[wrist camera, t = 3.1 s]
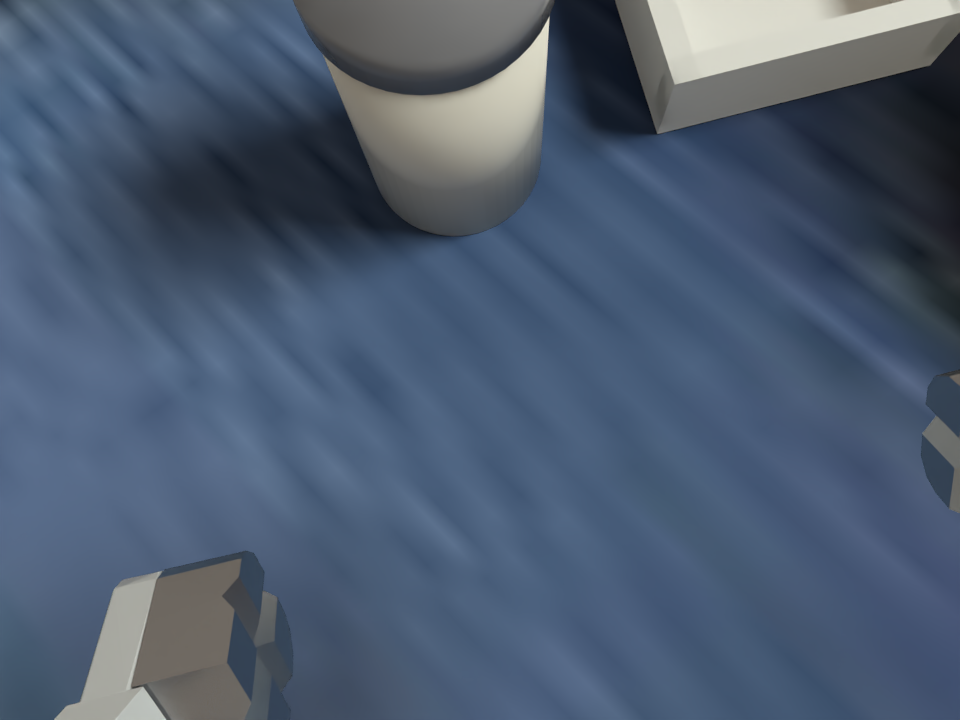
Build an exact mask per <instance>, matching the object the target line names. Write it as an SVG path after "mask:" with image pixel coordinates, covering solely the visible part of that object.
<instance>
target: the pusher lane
mask: <svg viewBox="0 0 960 720" xmlns="http://www.w3.org/2000/svg"><path fill="white" fill-rule="evenodd" d="M615 2H616V6H617V9H618V12H619V15H620V18H621V21H622V24H623V28H624V31H625V34H626V37H627V40H628V43H629V47H630V50H631V53H632V56H633V59H634V62H635V65H636V69H637V72H638V75H639V78H640V81H641V84H642V87H643V91H644V94H645V97H646V100H647V103H648V106H649V110H650V113H651V116H652V119H653V122H654V125H655V128H656V132H657V134H660V133H664V132H668V131H672V130H676V129H680V128H684V127H688V126H692V125H696V124H700V123H704V122H708V121H712V120H715V119H719V118H723V117H727V116H731V115H735V114H739V113H743V112H747V111H751V110H755V109H759V108H763V107H767V106H771V105H775V104H779V103H783V102H787V101H791V100H795V99H799V98H802V97H806V96H810V95H814V94H818V93H822V92H826V91H830V90H834V89H838V88H842V87H846V86H850V85H854V84H858V83H862V82H866V81H870V80H874V79H878V78H882V77H886V76H890V75H893V74H897V73H901V72H905V71H909V70H913V69H917V68H921V67H925V66H929V65H931V63H932V62H933V61H934V60H935V59H936V58H937V57H938V56H939V54H940V53H941V52H942V51H943V50H944V49H945V48H946V47H947V45H948V44H949V43H950V42H951V41H952V40H953V39H954V38H955V36H956V35H957V34H958V33H959V32H960V0H615Z"/></svg>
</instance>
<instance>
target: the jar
mask: <svg viewBox="0 0 960 720" xmlns="http://www.w3.org/2000/svg"><path fill="white" fill-rule="evenodd" d="M293 2H294V4H295V6H296V9H297V11H298V13H299V16H300V18H301V20H302V23H303V25H304V27H305V29H306V31H307V33H308V35H309V36H310V38H311V39H312V41H313V42H314V44H315V45H316V47H317V48H318V49H319V50H320V51H321V53H322V54H323V56H324V58H325V60H326V63H327V65H328V68H329V70H330V73H331V75H332V77H333V80H334V82H335V85H336V87H337V90H338V92H339V94H340V97H341V99H342V102H343V104H344V107H345V109H346V111H347V114H348V116H349V119H350V121H351V123H352V126H353V128H354V131H355V133H356V136H357V138H358V140H359V143H360V145H361V148H362V150H363V153H364V155H365V157H366V160H367V162H368V165H369V167H370V170H371V172H372V174H373V177H374V179H375V182H376V184H377V186H378V189H379V191H380V193H381V195H382V197H383V198H384V200H385V201H386V203H387V204H388V205H389V206H390V208H391V209H392V210H393V211H394V212H395V213H396V214H397V215H398V216H400V217H401V218H402V219H403V220H405V221H406V222H408V223H409V224H411V225H413V226H415V227H417V228H419V229H421V230H424V231H427V232H430V233H433V234H438V235H444V236H465V235H471V234H476V233H479V232H483V231H486V230H488V229H491V228H493V227H495V226H497V225H499V224H500V223H502V222H504V221H505V220H507V219H508V218H509V217H510V216H512V215H513V214H514V213H515V212H516V211H517V210H518V209H519V208H520V207H521V206H522V205H523V204H524V202H525V201H526V200H527V198H528V197H529V195H530V193H531V192H532V190H533V188H534V186H535V183H536V180H537V178H538V174H539V170H540V164H541V149H542V132H543V116H544V99H545V82H546V66H547V49H548V32H549V16H550V13H551V11H552V8H553V5H554V3H555V0H293Z"/></svg>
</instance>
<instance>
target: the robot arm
mask: <svg viewBox="0 0 960 720" xmlns="http://www.w3.org/2000/svg"><path fill="white" fill-rule="evenodd" d="M926 405H927V406H928V407H929V408H930V409H931V410H932V411H933V412H934V413H935V414H936V417H935V418H934V420H933V421H932V422H931V423H930V425H929V426H928V427H927V428H926V430H925V431H924V432H923V433H922V446H921V458H922V462H923V465H924V469H925V472H926V476H927V478H928V480H929V482H930V484H931V486H932V487H933V489H934V491H935V493H936V494H937V495H938V496H939V498H940V499H941V500H942V501H943V502H944V503H945V505H946V506H947V507H948V508H949V509H951V510H953V511H956V512H958V513H960V370H956V371H952V372H948V373H944V374H941V375H937V376H934V378H933V379H932V381H931V383H930V384H929V386H928V390H927V398H926ZM263 582H264V570H263V569H262V567H261V565H260V563H259V562H258V560H257V558H256V556H255V554H254V553H252V552H249V551H243V552H239V553H234V554H230V555H226V556H221V557H217V558H213V559H208V560H204V561H200V562H195V563H191V564H186V565H182V566H178V567H173V568H169V569H165V570H164V571H161V572H156V573H151V574H147V575H142V576H138V577H133V578H129V579H125V580H122V581H121V582H120V583H119V584H118V585H117V586H116V588H115V589H114V590H113V593H112V596H111V599H110V603H109V606H108V609H107V613H106V616H105V619H104V623H103V626H102V629H101V633H100V636H99V639H98V643H97V646H96V649H95V653H94V656H93V659H92V663H91V666H90V669H89V673H88V676H87V679H86V683H85V686H84V689H83V693H82V696H81V700H80V702H79V703H76V704H72V705H68V706H66V707H65V708H64V709H63V710H62V711H61V713H60V714H59V715H58V716H57V717H56V718H55V719H54V720H290V708H289V706H288V704H287V702H286V701H285V699H284V697H283V695H282V693H281V692H282V690H283V689H284V687H285V686H286V684H287V683H288V681H289V680H290V679H291V677H292V673H293V649H292V642H291V634H290V628H289V625H288V622H287V619H286V615H285V612H284V610H283V608H282V606H281V604H280V602H279V600H278V598H277V597H275V596H273V595H271V594H269V593H267V592H265V591H263Z"/></svg>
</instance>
